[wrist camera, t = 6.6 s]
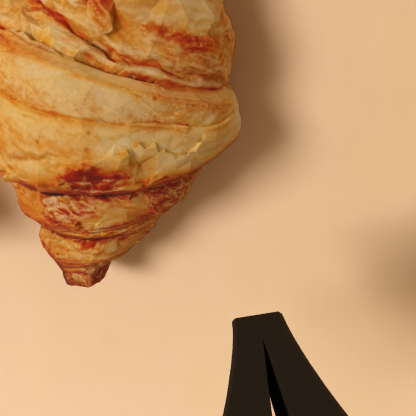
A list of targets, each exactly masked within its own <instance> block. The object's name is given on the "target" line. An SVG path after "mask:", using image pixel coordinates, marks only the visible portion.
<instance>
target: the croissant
mask: <svg viewBox="0 0 416 416" xmlns="http://www.w3.org/2000/svg"><path fill="white" fill-rule="evenodd" d="M223 2H224V0H0V174H1V176H2V179H3V180H4V181H6V182H12V184H13V186H14V188H15V190H16V193H17V196H18V203H19V206H20V208H21V209H22V211H23V212H24V213H25V215H26V216H28V217H30V218H32V219H34V220H35V221H37V222H38V223H40V224H41V229H40V233H39V237H40V239H41V242H42V245H43V247H44V248H45V249H46V251H47V252H48V254H49V255H50V256H51V257H52V258H53V259H54V261H55V262H56V263H57V264H58V266H59V267H60V268H61V270H62V271H63V276H64V278H65V281H66V283H67V284H68V285H71V286H73V285H76V286H82V287H91V286H93V285H94V284H96V283H98V282H100V281H101V280H102V279H103V278H104V277H105V275H106V272H107V270H108V268H109V266H110V264H111V260H116V259H117V258H118V257H120V256H121V255H123V254H125V253H126V252H128V251H129V250H130V249H131V248H132V246H133V245H134V244H136V243H138V242H140V240H141V239H142V238H143V237H144V236H145V235H146V234H147V233H148V232H149V231H150V230H151V229H152V228H153V227H154V226H155V225H156V224H155V221H156V220H157V219H158V218H159V217H160V216H161V215H162V214H164V213H165V211H168V210H169V209H170V208H171V207H172V206H174V205H175V204H176V203H177V202H178V201H181V200H184V199H185V198H186V196H187V195H188V193H189V191H190V189H191V187H192V183H193V181H194V180H195V179H196V177H197V176H198V174H199V171H200V169H201V168H202V166H203V165H205V164H206V163H208V162H210V161H211V160H213V159H214V158H215V157H217V156H218V155H219V154H220V153H221V152H223V151H224V150H225V149H226V148H227V147H229V146H230V145H231V144H232V143H233V142H234V141H235V140H236V139H237V137H238V135H239V132H240V129H241V125H242V122H241V116H240V114H239V103H238V101H237V98H236V96H235V93H234V91H233V90H232V88H231V86H230V85H229V83H228V81H229V78H230V72H231V69H232V59H233V53H234V47H235V32H234V31H233V30H232V24H231V21H230V18H229V17H228V16H227V14H226V13H225V10H224V5H223Z"/></svg>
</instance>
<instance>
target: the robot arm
mask: <svg viewBox="0 0 416 416" xmlns="http://www.w3.org/2000/svg"><path fill="white" fill-rule="evenodd" d="M232 326H233V350H232V361H231V370H230V377H229V384H228V391H227V397H226V403H225V408H224V413H223V416H272V411H271V403H270V398H271V402H272V405H273V409H274V412H275V415H276V416H348V415H347V414H346V412H345V411H344V410H343V409H342V407H341V406H340V405H339V403H338V402H337V401H336V399H335V398H334V397H333V395H332V394H331V393H330V391H329V390H328V389H327V387H326V386H325V384H324V383H323V382H322V380H321V379H320V377H319V376H318V374H317V373H316V371H315V370H314V369H313V367H312V366H311V364H310V363H309V361H308V360H307V358H306V357H305V355H304V353H303V352H302V350H301V348H300V347H299V345H298V344H297V342H296V340H295V338H294V337H293V335H292V333H291V331H290V329H289V328H288V326H287V324H286V322H285V319H284V317H283V315H282V314H281V313H280V312H272V313H266V314H260V315H253V316H247V317H241V318H235V319H234V320H233V321H232Z"/></svg>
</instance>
